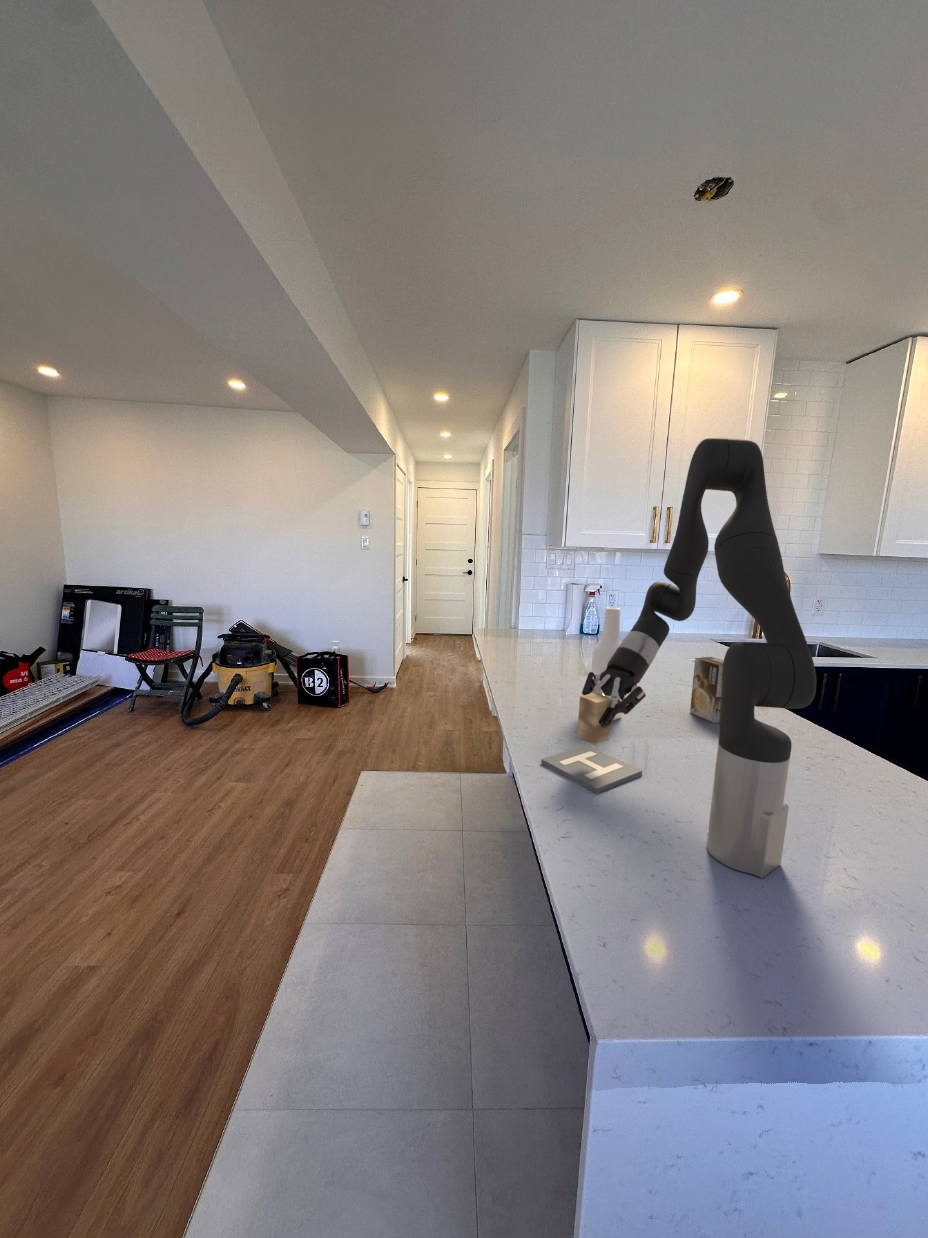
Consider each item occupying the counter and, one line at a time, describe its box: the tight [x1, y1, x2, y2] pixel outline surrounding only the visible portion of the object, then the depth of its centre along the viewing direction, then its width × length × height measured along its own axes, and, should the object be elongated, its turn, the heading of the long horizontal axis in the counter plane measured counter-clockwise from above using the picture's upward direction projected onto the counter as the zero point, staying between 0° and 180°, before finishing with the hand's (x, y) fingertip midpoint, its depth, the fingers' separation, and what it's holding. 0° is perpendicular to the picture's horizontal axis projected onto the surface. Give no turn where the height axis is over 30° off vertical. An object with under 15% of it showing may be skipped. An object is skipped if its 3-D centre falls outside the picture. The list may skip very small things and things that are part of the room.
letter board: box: [540, 744, 643, 794], centre depth 103 cm, size 15×14×1 cm
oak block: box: [576, 693, 612, 746], centre depth 102 cm, size 4×4×9 cm
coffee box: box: [689, 656, 724, 724], centre depth 136 cm, size 9×6×16 cm
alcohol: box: [590, 606, 623, 721], centre depth 134 cm, size 9×9×30 cm
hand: (592, 720), depth 101 cm, fingers closed on oak block, 4 cm apart
